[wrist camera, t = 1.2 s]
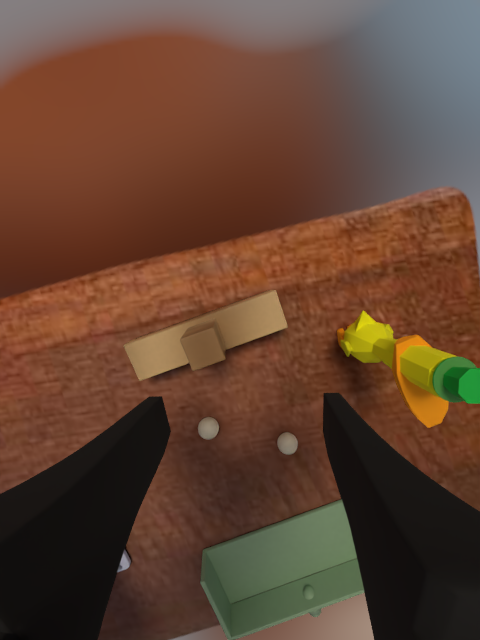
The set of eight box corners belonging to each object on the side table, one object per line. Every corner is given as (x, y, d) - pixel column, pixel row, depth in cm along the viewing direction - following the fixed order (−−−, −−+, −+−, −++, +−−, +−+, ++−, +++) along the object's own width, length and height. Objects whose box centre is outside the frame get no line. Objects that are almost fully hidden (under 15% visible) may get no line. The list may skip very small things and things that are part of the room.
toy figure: (377, 365, 23) (535, 455, 11) (341, 380, 23) (460, 485, 12) (355, 296, 22) (505, 318, 10) (316, 312, 22) (421, 352, 10)
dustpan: (202, 549, 25) (200, 582, 23) (362, 491, 25) (379, 517, 23) (235, 619, 27) (236, 658, 24) (385, 565, 27) (404, 597, 24)
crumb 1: (203, 434, 23) (201, 447, 22) (196, 417, 23) (193, 428, 21) (221, 427, 23) (221, 439, 22) (214, 410, 23) (214, 421, 21)
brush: (149, 369, 22) (120, 404, 16) (134, 337, 22) (99, 361, 15) (280, 321, 22) (302, 338, 16) (269, 288, 22) (287, 293, 15)
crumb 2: (279, 448, 24) (283, 462, 22) (273, 432, 24) (276, 444, 22) (297, 441, 24) (302, 455, 22) (291, 425, 24) (296, 437, 22)
